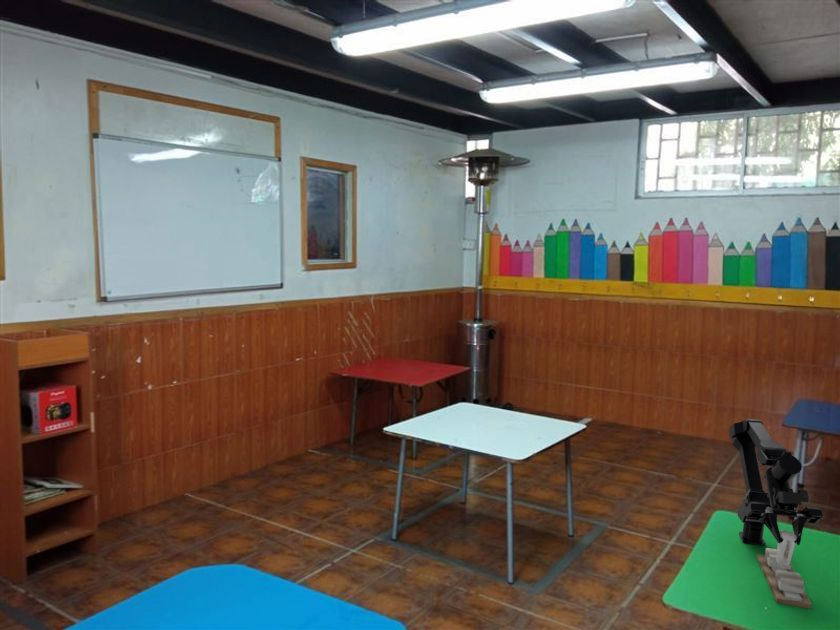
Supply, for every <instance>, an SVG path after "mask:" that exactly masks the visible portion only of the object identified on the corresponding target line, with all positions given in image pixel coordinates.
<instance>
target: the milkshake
mask: <svg viewBox="0 0 840 630" xmlns="http://www.w3.org/2000/svg"><path fill="white" fill-rule="evenodd" d="M779 532H780V536H781V543H778V542H777V547H776V548H777V558H776V562H777V563H778V564H780V565H783V566H789V565H790V561H791V559H792V556H793V553H794V548H795V546H796V544H797V543H796V540H797V538H798V537H799V536H798V537H796V535H795V534H794V532H793V531H789V530H786V529H782V530H779Z"/></svg>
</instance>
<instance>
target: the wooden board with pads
mask: <svg viewBox="0 0 840 630" xmlns="http://www.w3.org/2000/svg"><path fill="white" fill-rule="evenodd" d="M776 558H777V549H776V548H770V547H766V548H765V551H764V554H761V553H760V554H759V553H757V554H756V559H757V562H758V563H759V566H760V568H761V571H762V573H763V575H764V577H765V580H766V582H767V584H768V586H769V589H770V591H771V594H772V595H773V598H774V600H775V603H777V604H781V605H788V606H792V607H793V606H794V607H798V608H805V609H812V603H811V601H810V599H809V597H808V595H807V593H806V590H805V582H804V580H803V577H802V576H801V574H800V573H798V572H795V571H794V570H795V569H794V568H793V565H792V563H793V562H792V558H791V561H790V565H789V566H783V565H780V564H778V563H777V562H776Z"/></svg>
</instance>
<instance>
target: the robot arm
mask: <svg viewBox="0 0 840 630" xmlns="http://www.w3.org/2000/svg"><path fill="white" fill-rule="evenodd" d="M728 435H729V438H730V440H731V443H732V445H733V446H734V447H735V448H736V449H737V451H738V452H739V453H738V454H739V457H740V464H741V469H742V474H743V480H744V485H745V491H746V492H745V496H744V498H743V500H742V504H741V505H740V506H739V507H738V508H737V517H738V519H739V520H740V521H741V523H743V525H742V531H739V532H738V534H739V537H740V539H741V542H743V543H746V544H752V545H753V544H754V545H759V546H766V545H767V544H766V541H765V539H764V533H765V532H764V531H765V527H766V528H767V530H769V532H770V533H771V535H773V537H774V539H775V541H776V542H777V544H778V543H781V536H780V529H779V524H778V516H780V517H790V518H791V517H792V518H793V521H792V522H791V525H792V532H793V533H794V534H795V535H796V537H798V536H799V537H798V538H797V540H796V543H795V544H796V546H800V545H801V542H802V541H801V540H802V536H803V531H804V527H805V525H806V524H812V525H815V524H818V523H819V522H821V521H822V520H823V519H824V518H825V514H824V512H823V510H822V509H821V508H820V507H816V506H815V507H814V506H805V507H804V508H803V509H802V510H801V509H800V510H799V509H797V508H798V507H799V505H800V506H802V505H803V503H809V500H810V498H809V493H808V490H807V489H797V492H796V491H794V490H793V488H791V484H790V482H791V481H792V480H794V479H795V477H797V476H798V474H799V473H801V471H802V469H803V468H802V466H803V465H802V463H801V461H800V460H799V459H798V458H797V457H795V456H794V455H793V454H792V451H788V450H787V449H786V447H784V445H782V444H780V443H778V442H775V441H774V440H773V438H772V436H771V435H770V434H769V432H768V431H767V430H766V428H765V427H764V422H763V421H762V420H761V419H753V418H752V419H751V418H746V419H744V420H742V421H739V422H734V423H733V424H732V425H730V426H729V430H728ZM756 448H757V451H756ZM759 464H760V465H761V466H763V467H764V466H765V467H769V468H768V469H766V471H765V473H764V475H763V478H764V479H765V480H766V487H767V492H765V490H764V487H763V483H762V477H761V472H760V468H759ZM795 508H796V509H795Z"/></svg>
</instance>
